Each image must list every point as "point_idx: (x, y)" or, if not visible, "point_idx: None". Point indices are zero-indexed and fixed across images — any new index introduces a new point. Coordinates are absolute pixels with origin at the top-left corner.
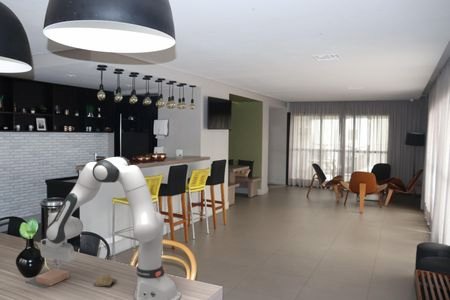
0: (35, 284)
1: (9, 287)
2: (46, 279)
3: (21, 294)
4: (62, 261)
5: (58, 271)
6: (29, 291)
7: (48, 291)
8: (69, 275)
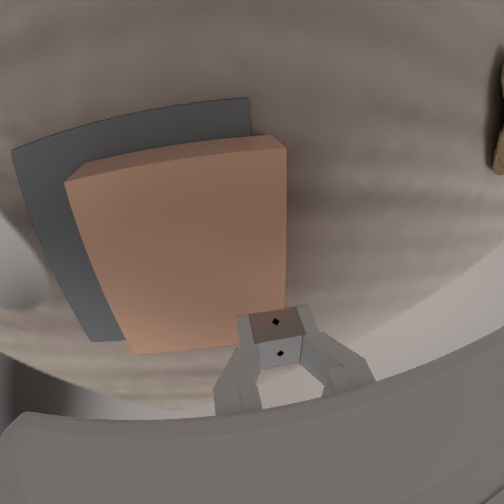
0: None
1: (104, 385)
2: None
3: None
4: (362, 363)
5: (175, 213)
6: None
7: None
8: (233, 102)
